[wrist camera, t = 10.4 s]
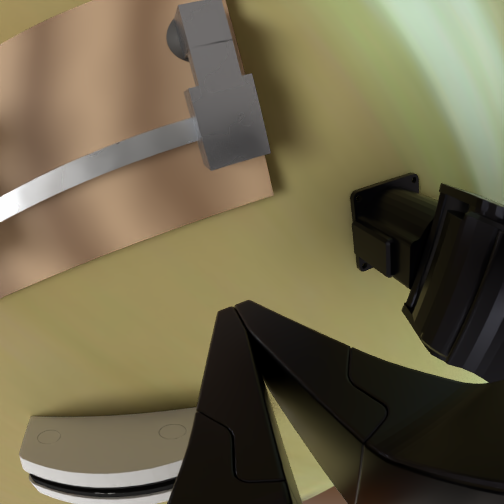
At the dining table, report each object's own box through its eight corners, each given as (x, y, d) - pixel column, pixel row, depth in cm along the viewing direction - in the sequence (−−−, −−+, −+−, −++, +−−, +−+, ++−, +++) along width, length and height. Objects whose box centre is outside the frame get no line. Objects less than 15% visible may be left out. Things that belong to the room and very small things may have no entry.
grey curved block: (48, 446, 23) (26, 511, 13) (33, 407, 22) (-1, 468, 13) (208, 436, 28) (234, 505, 18) (201, 397, 27) (227, 462, 18)
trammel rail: (219, 11, 14) (231, -5, 11) (254, 148, 17) (271, 153, 15) (-87, 155, 10) (-110, 163, 8) (-45, 270, 14) (-63, 289, 12)
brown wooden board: (212, -22, 13) (217, -31, 12) (266, 190, 20) (274, 196, 19) (-93, 123, 10) (-105, 125, 8) (-26, 303, 16) (-33, 314, 15)
